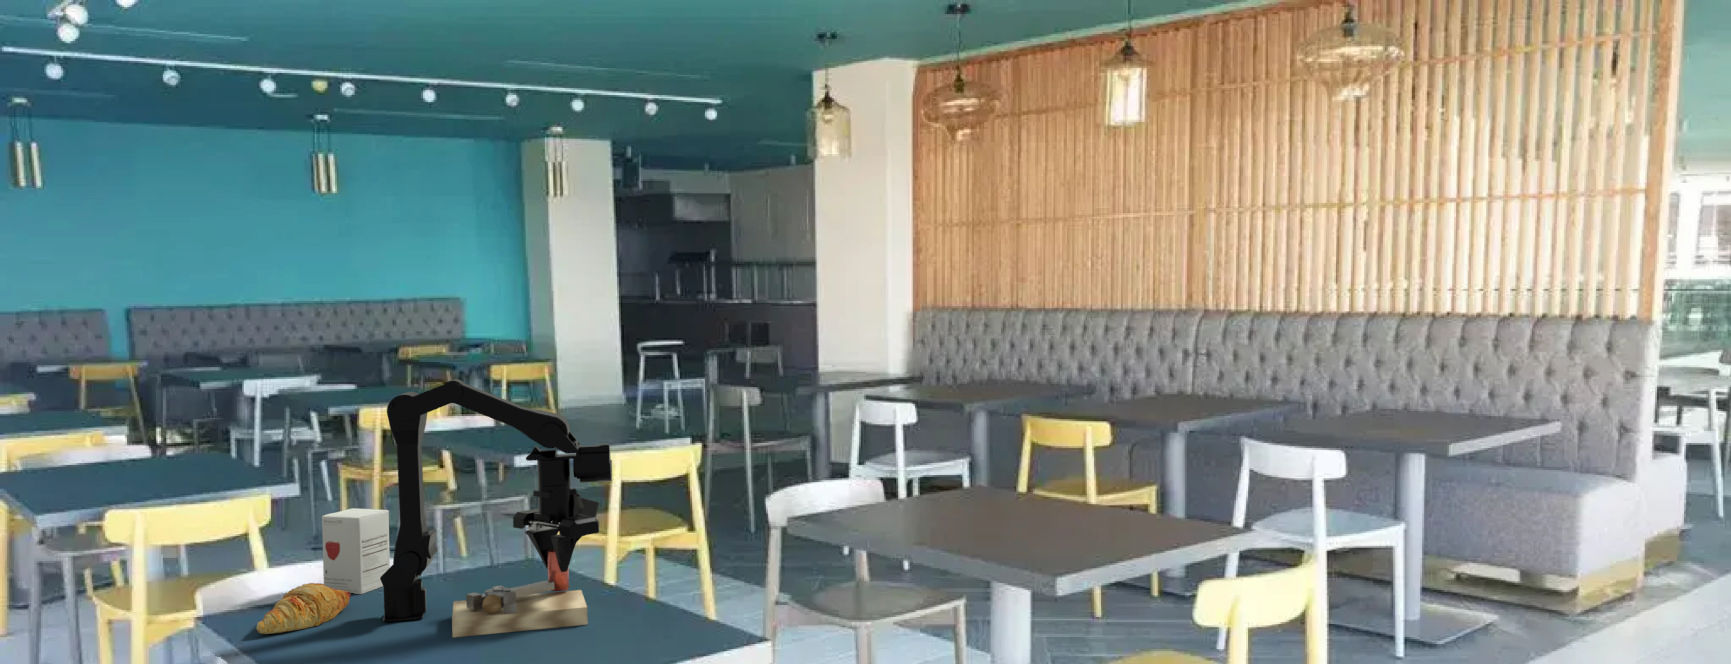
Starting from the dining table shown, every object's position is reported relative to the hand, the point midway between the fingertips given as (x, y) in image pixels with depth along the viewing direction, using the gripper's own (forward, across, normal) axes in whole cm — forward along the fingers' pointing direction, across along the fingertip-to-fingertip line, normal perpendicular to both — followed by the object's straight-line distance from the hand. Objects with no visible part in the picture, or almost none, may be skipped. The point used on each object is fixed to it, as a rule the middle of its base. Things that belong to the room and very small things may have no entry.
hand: (556, 569), depth 221 cm
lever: (+4, 0, +8) cm, 8 cm away
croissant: (+7, +29, +33) cm, 44 cm away
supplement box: (+7, +46, +15) cm, 48 cm away
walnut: (+4, -4, +16) cm, 16 cm away
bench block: (+7, -2, +9) cm, 12 cm away
